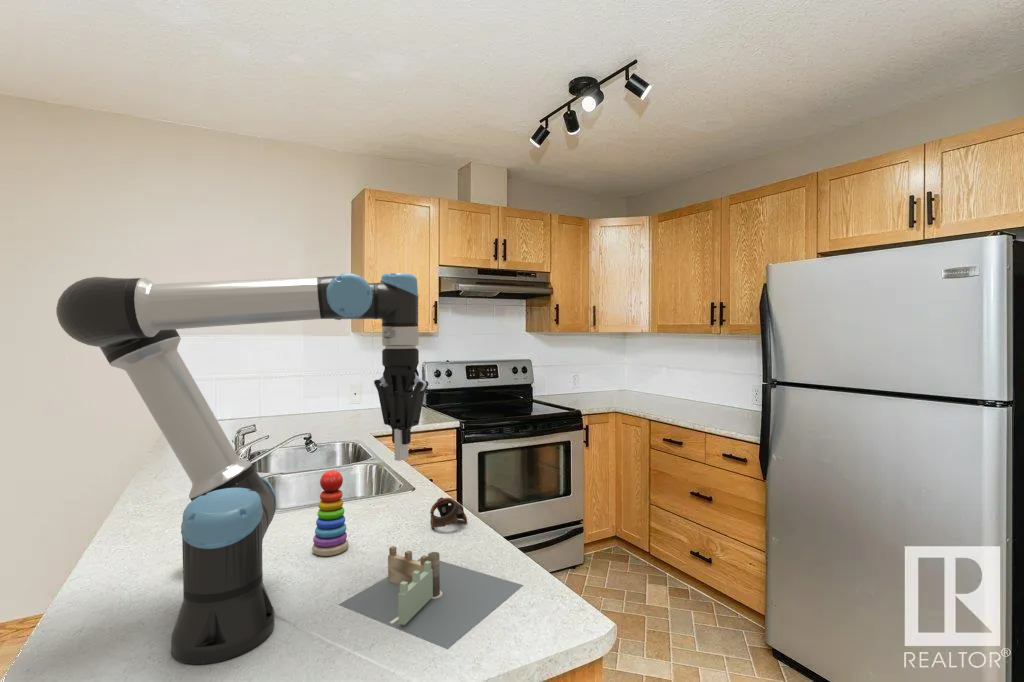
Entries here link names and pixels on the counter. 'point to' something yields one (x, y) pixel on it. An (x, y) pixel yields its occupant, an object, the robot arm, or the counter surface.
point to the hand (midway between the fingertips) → (401, 459)
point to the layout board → (438, 604)
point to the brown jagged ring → (446, 512)
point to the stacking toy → (330, 517)
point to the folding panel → (415, 593)
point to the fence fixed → (412, 568)
